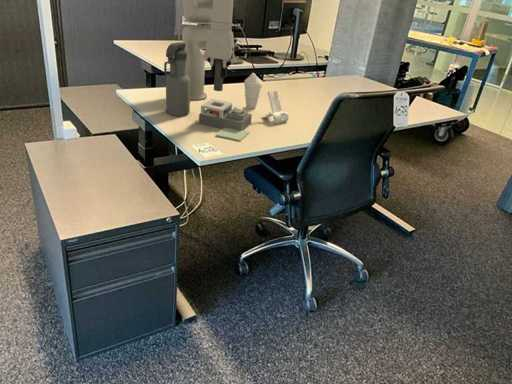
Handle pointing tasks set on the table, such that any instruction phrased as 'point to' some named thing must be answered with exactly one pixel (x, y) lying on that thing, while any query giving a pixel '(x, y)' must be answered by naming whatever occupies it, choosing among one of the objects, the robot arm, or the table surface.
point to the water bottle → (177, 81)
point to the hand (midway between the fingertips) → (218, 76)
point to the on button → (238, 110)
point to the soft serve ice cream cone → (252, 90)
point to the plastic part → (276, 109)
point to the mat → (232, 134)
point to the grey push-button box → (223, 116)
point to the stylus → (218, 75)
